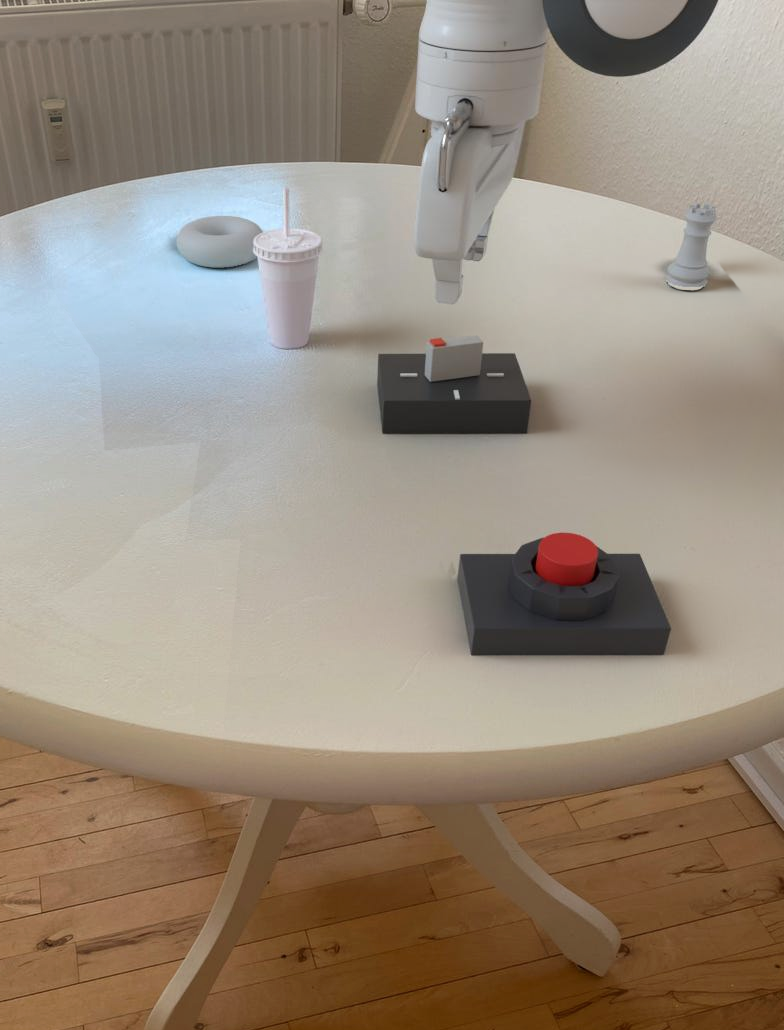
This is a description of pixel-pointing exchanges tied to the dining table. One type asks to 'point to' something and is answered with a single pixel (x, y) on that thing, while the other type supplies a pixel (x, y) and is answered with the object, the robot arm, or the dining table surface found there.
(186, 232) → the donut
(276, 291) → the smoothie
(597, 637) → the power switch
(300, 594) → the dining table surface
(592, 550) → the power button
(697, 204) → the rook chess piece
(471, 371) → the grey block
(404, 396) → the panel
